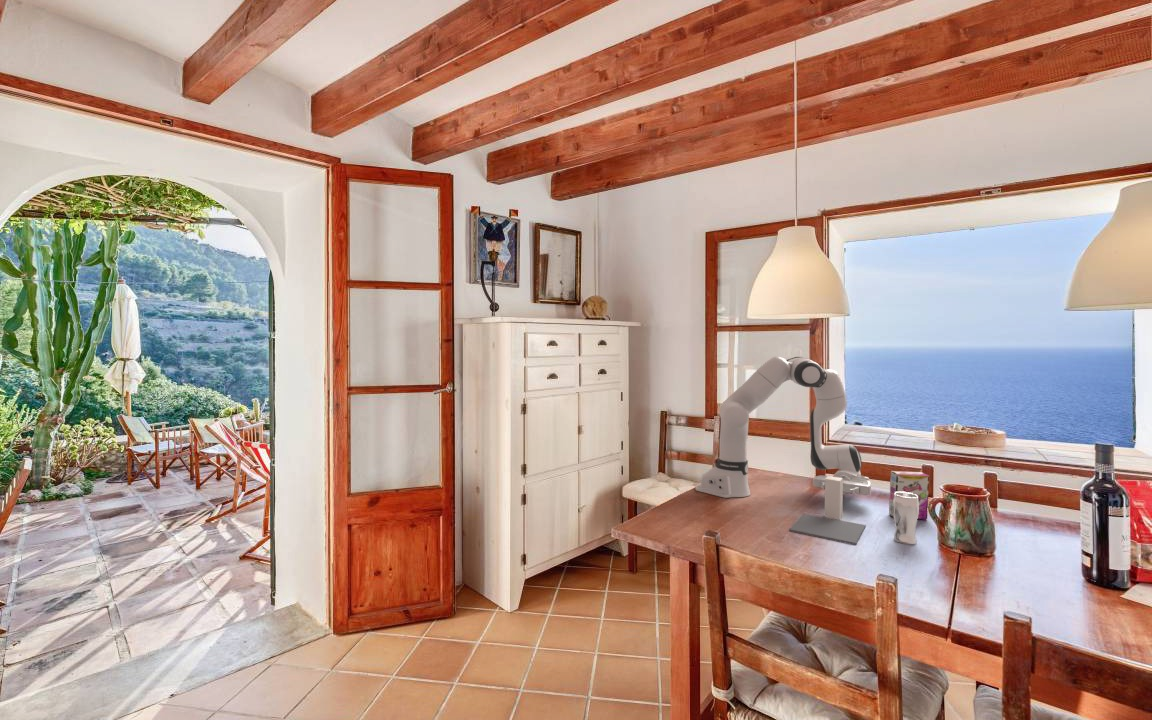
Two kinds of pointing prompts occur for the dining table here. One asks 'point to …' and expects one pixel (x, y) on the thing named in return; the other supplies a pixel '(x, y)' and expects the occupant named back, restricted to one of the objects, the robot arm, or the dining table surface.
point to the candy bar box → (910, 489)
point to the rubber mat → (828, 528)
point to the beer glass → (905, 517)
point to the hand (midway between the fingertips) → (837, 489)
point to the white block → (833, 497)
